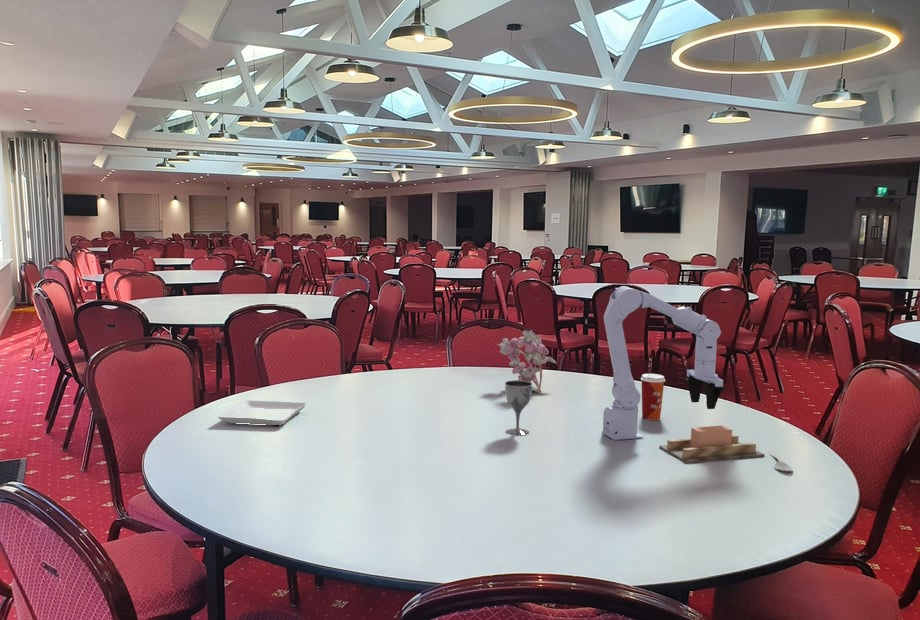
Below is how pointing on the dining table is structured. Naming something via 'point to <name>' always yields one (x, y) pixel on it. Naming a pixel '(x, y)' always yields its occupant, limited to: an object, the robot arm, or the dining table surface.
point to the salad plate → (243, 407)
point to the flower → (526, 356)
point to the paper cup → (652, 395)
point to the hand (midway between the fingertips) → (702, 405)
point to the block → (710, 436)
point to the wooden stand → (710, 451)
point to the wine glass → (518, 401)
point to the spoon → (780, 464)
